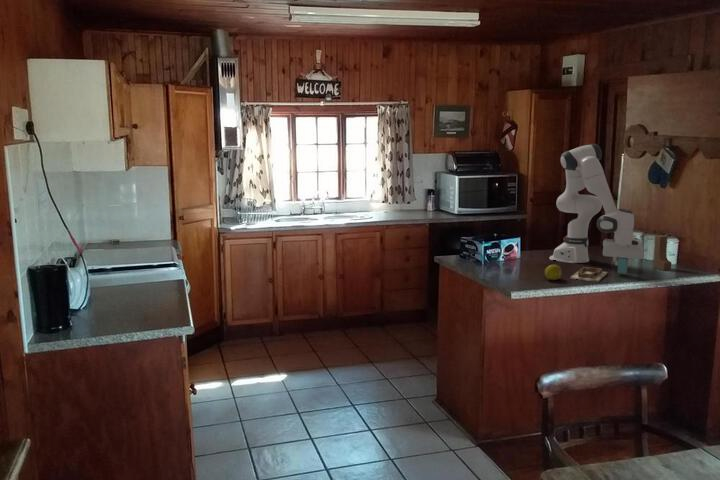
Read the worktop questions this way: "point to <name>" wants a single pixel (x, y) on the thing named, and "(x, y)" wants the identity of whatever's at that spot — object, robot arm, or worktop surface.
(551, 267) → the lemon
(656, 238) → the wooden block
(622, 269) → the teal peg
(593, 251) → the worktop surface
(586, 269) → the keyhole guide
